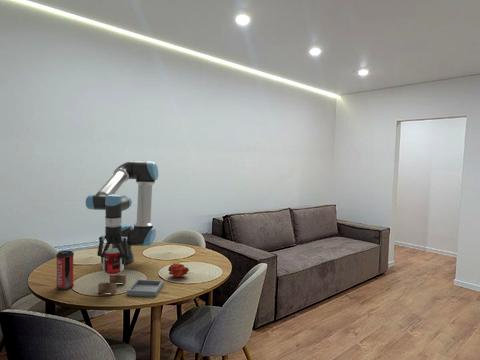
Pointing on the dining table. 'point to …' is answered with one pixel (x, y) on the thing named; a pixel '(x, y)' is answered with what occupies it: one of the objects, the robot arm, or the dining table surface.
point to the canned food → (112, 261)
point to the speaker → (64, 270)
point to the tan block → (111, 283)
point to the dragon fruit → (178, 270)
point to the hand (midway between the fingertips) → (113, 269)
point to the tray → (145, 288)
